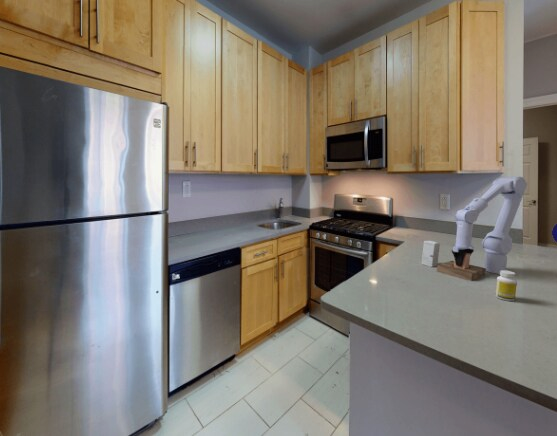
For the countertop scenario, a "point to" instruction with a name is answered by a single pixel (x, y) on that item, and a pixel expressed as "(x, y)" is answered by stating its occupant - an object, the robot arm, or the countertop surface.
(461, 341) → the countertop surface
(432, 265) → the skincare box
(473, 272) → the walnut socket block
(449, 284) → the countertop surface
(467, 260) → the terracotta peg
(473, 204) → the robot arm
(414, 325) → the countertop surface
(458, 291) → the countertop surface
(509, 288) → the supplement bottle
